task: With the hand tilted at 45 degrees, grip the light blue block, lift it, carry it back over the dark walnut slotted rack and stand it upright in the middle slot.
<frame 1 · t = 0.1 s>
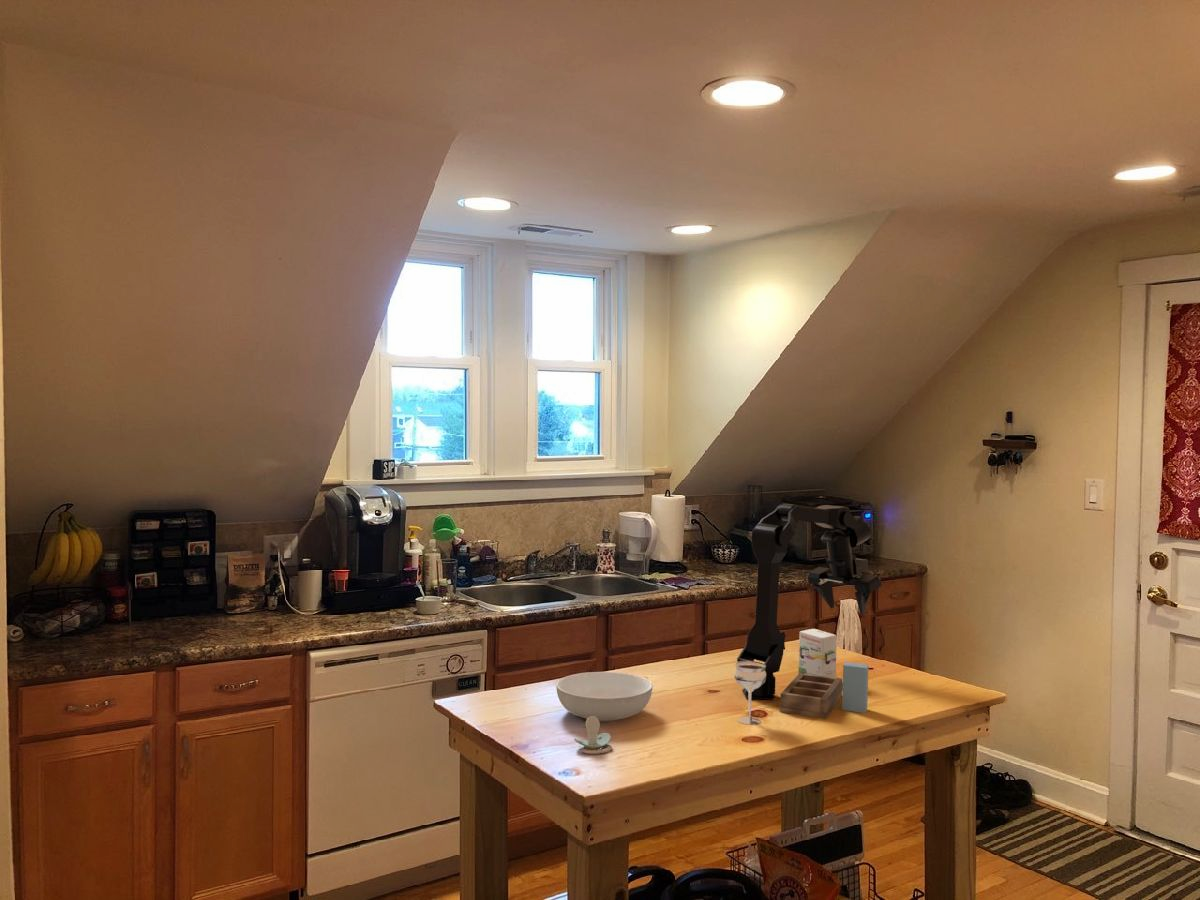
hand: (847, 611, 237), 15 cm above the table, tool pointing down, fingers open, 9 cm apart
wineglass: (749, 721, 198), on the table
rack: (811, 703, 211), on the table
ink box: (816, 680, 230), on the table
pacifier: (594, 751, 180), on the table
light blue block: (854, 709, 207), on the table
serving bowl: (603, 715, 201), on the table
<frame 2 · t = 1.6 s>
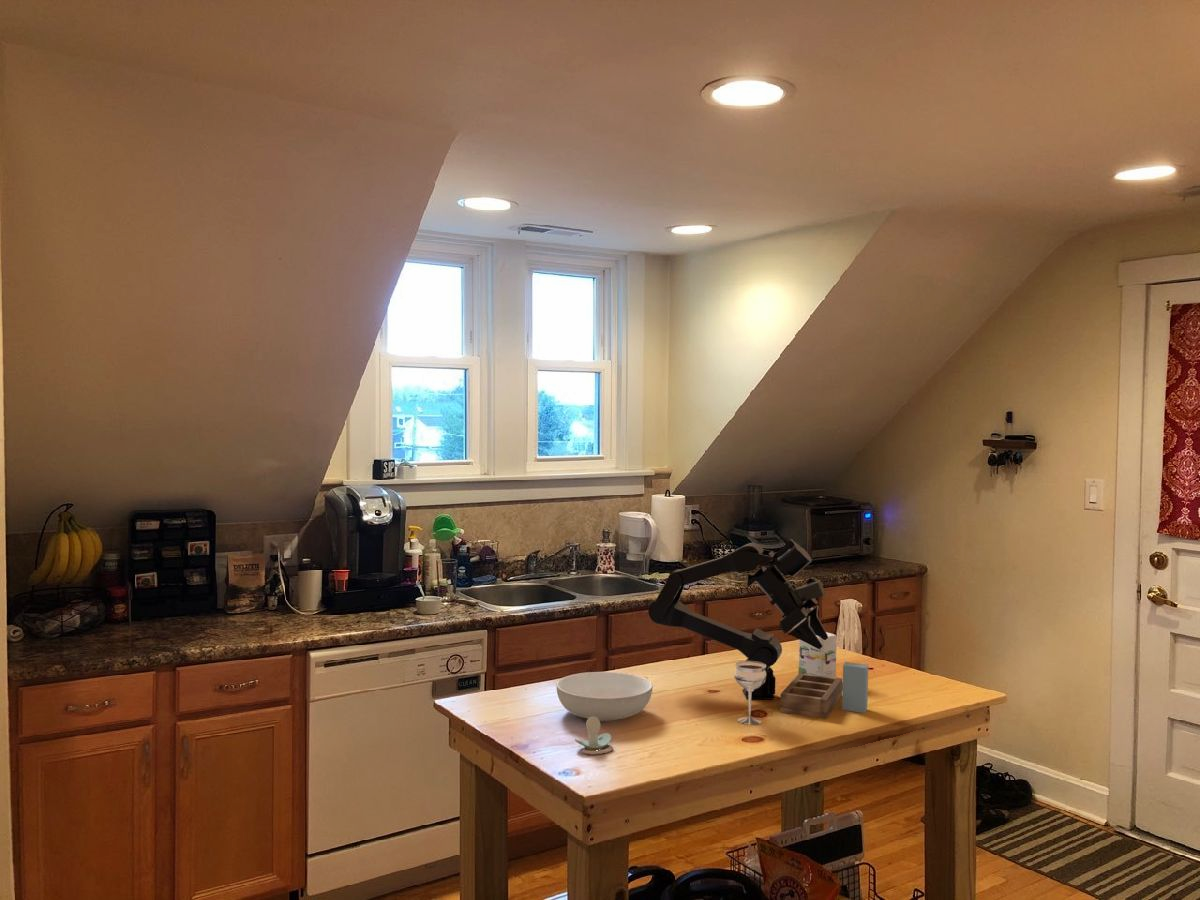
hand: (823, 643, 210), 14 cm above the table, tool tilted 45°, fingers open, 9 cm apart
nothing on the table moved.
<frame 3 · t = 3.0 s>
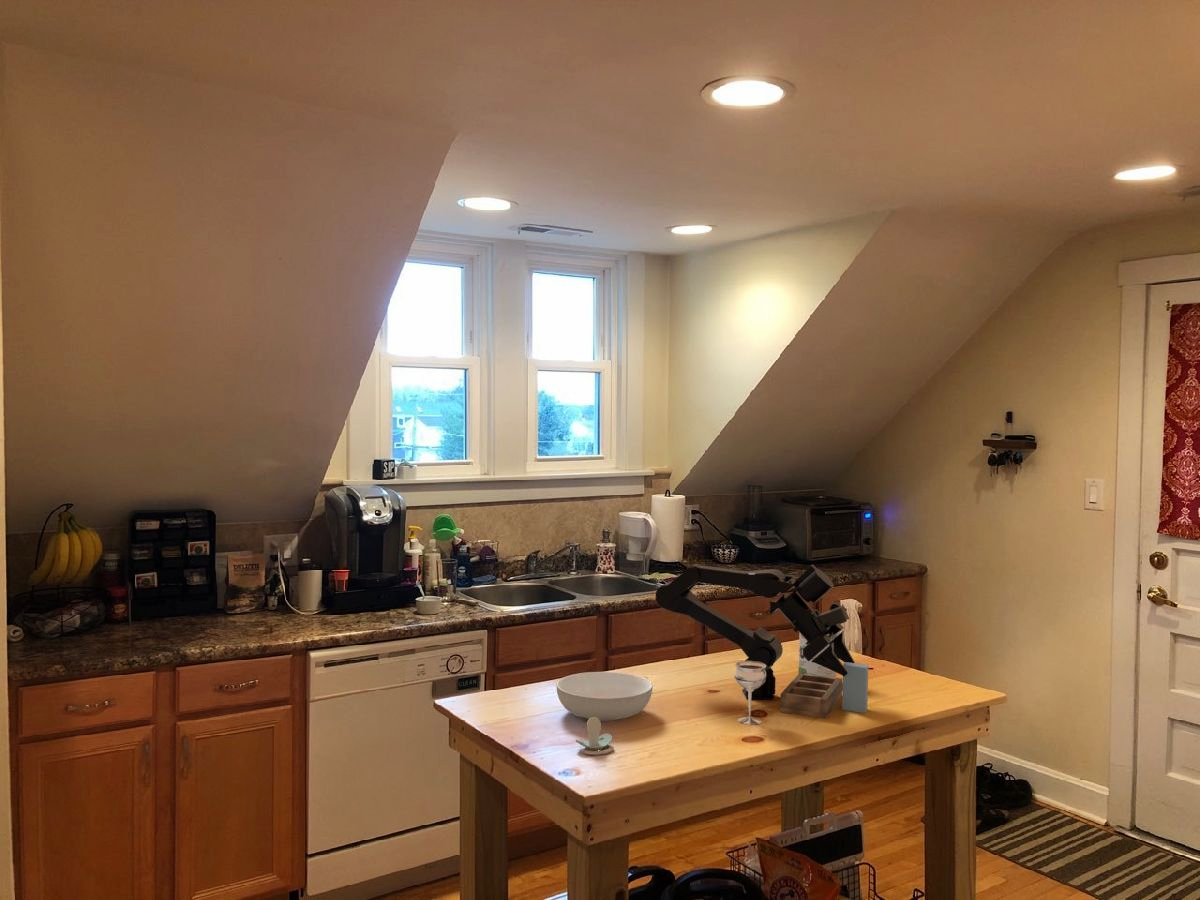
hand: (849, 669, 207), 9 cm above the table, tool tilted 45°, fingers open, 9 cm apart
nothing on the table moved.
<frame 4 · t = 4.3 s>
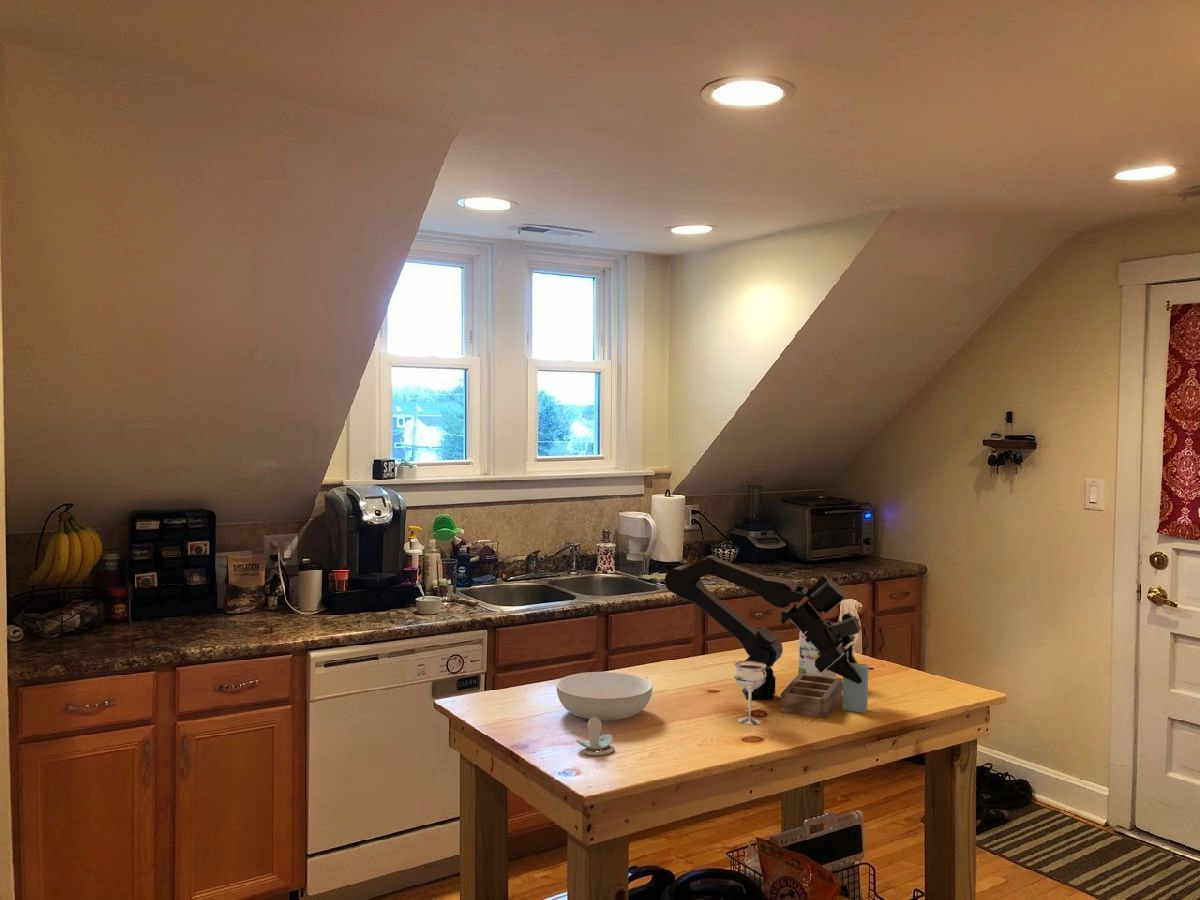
hand: (861, 680, 206), 7 cm above the table, tool tilted 45°, fingers closed on light blue block, 3 cm apart
light blue block: (854, 709, 207), on the table, touching gripper
everything else where it was.
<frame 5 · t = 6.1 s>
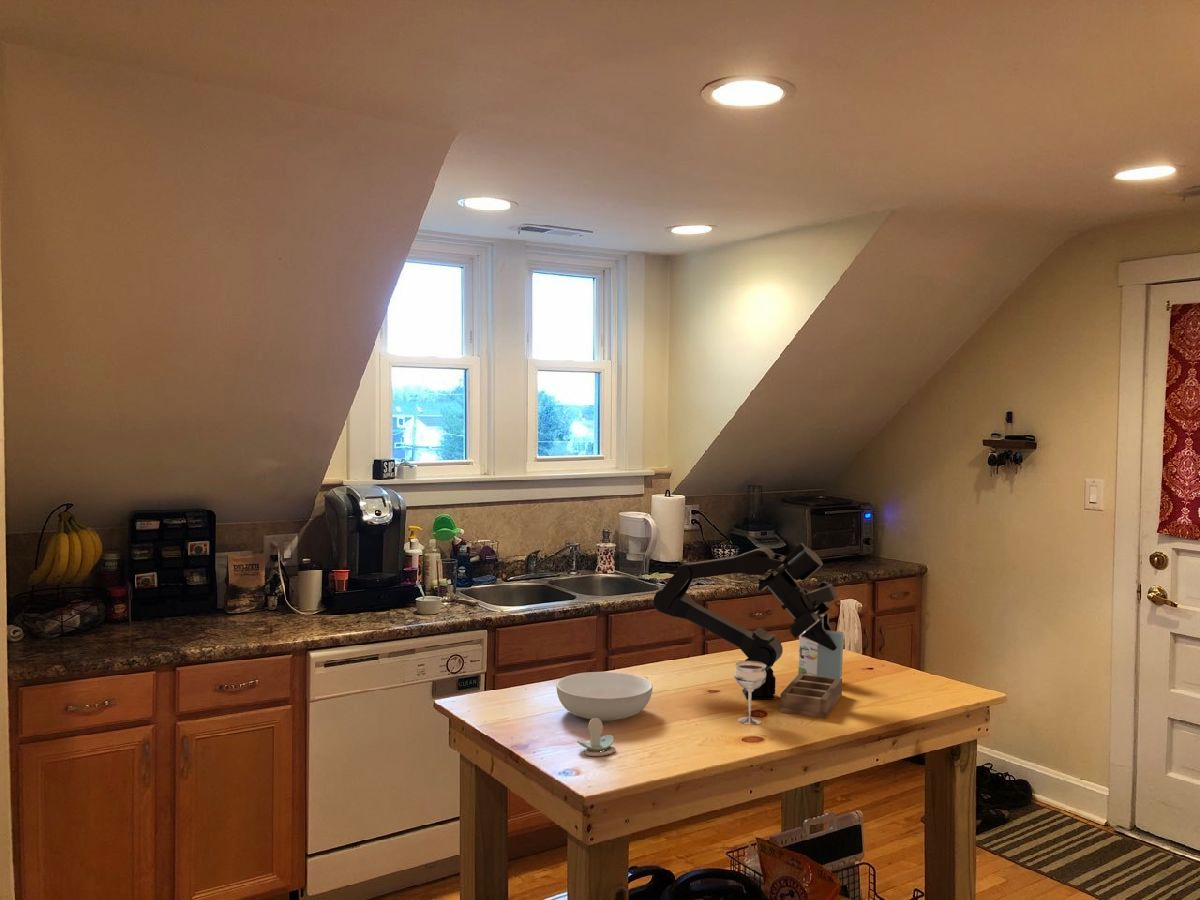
hand: (836, 647, 208), 13 cm above the table, tool tilted 45°, fingers closed on light blue block, 3 cm apart
light blue block: (829, 676, 209), point 7 cm above the table, touching gripper
when the fingers open (9 cm above the table, at t = 8.1 s): light blue block drops 1 cm, resting on rack.
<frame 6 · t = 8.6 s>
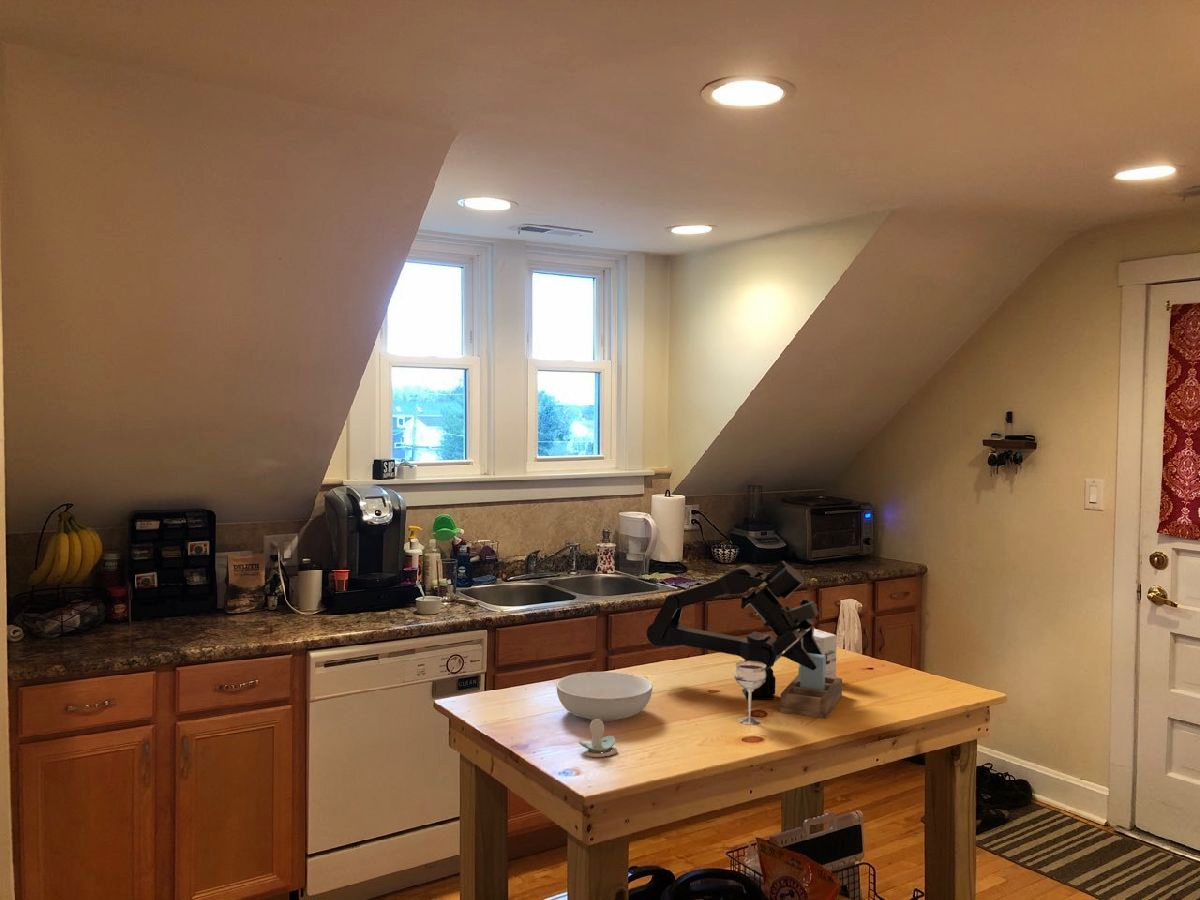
hand: (819, 664, 210), 9 cm above the table, tool tilted 45°, fingers open, 8 cm apart
light blue block: (812, 699, 210), point 1 cm above the table, touching rack
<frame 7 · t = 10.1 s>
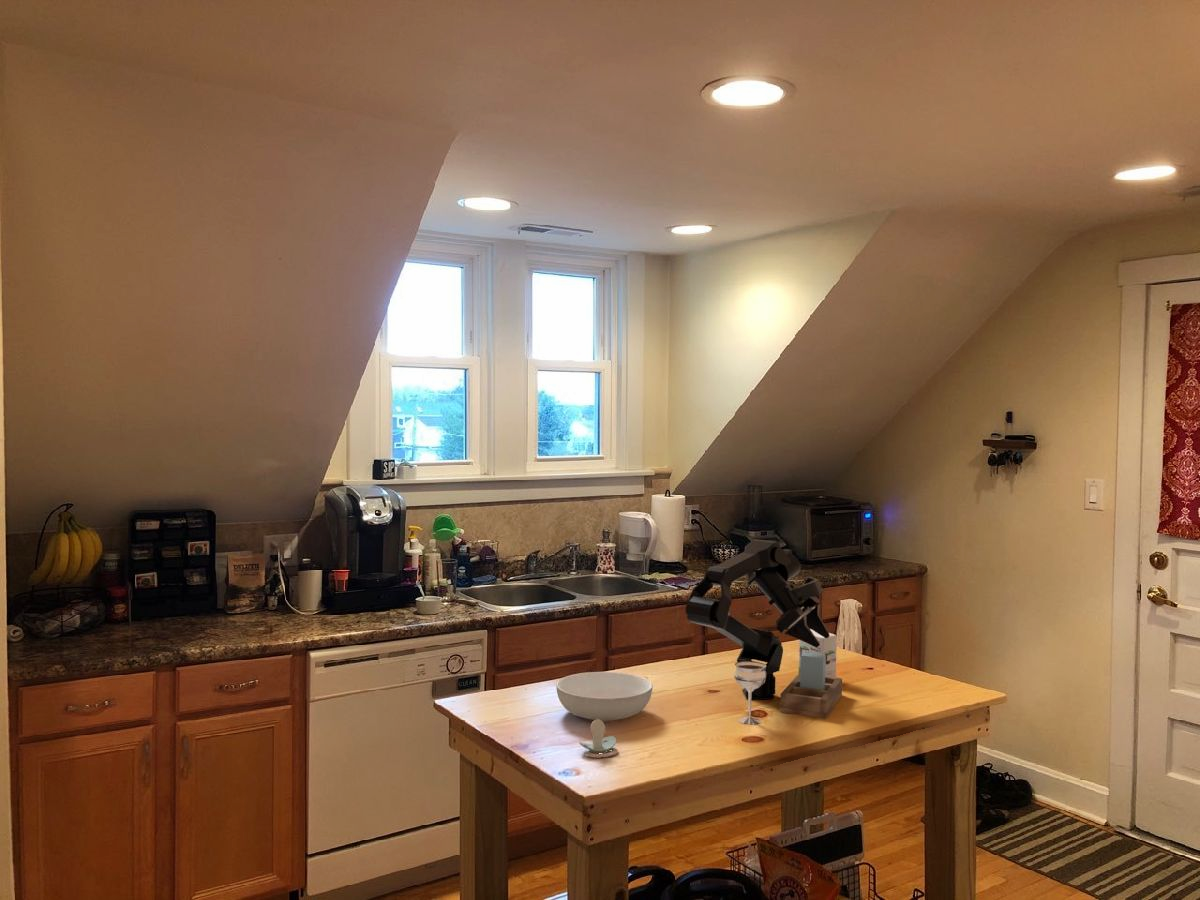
hand: (823, 641, 212), 14 cm above the table, tool tilted 45°, fingers open, 9 cm apart
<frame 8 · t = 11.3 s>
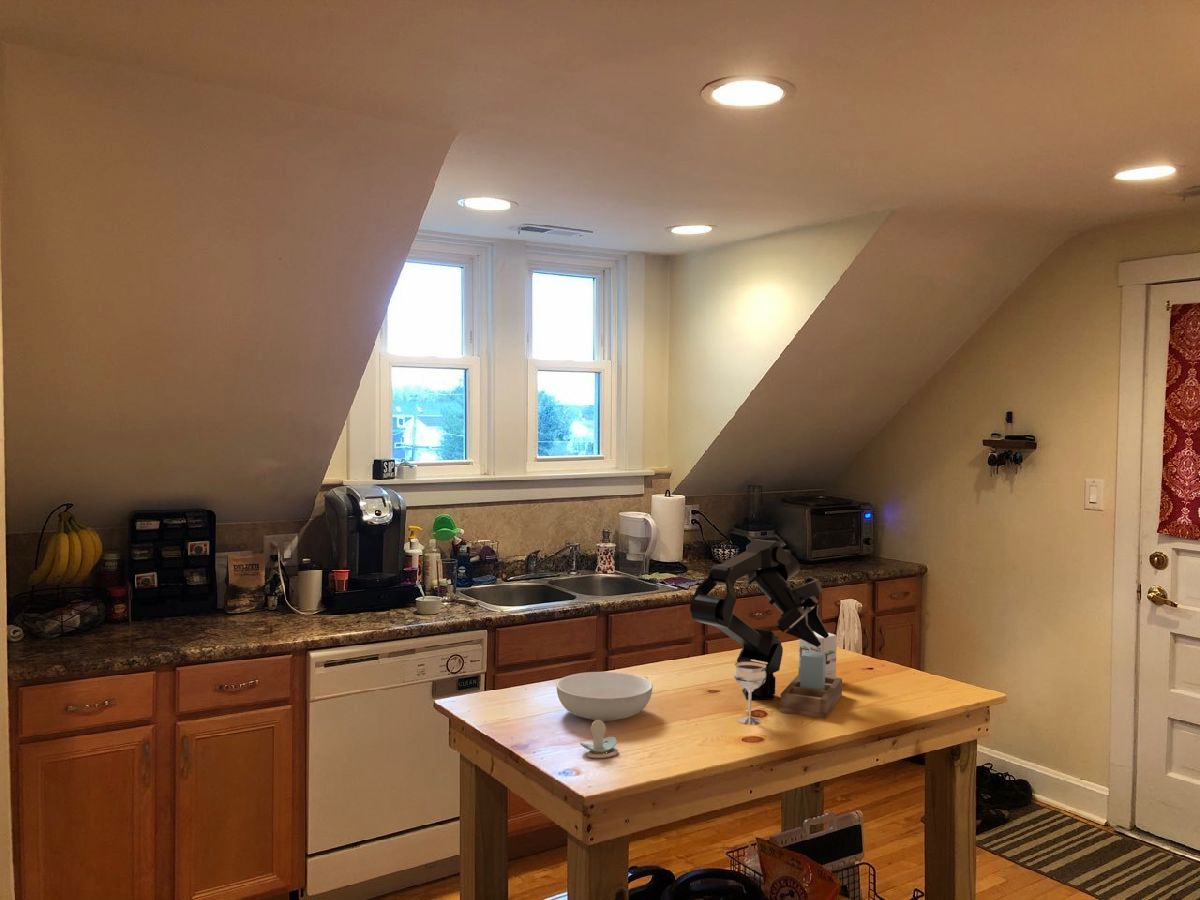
hand: (823, 641, 213), 14 cm above the table, tool tilted 45°, fingers open, 9 cm apart
at the end: light blue block 0.0 cm off-centre on the rack, point 1.0 cm above the rack's base; light blue block tilted 0°; the gripper is holding nothing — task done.
